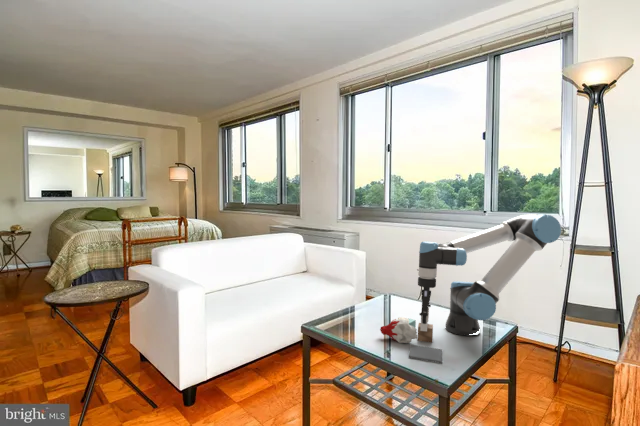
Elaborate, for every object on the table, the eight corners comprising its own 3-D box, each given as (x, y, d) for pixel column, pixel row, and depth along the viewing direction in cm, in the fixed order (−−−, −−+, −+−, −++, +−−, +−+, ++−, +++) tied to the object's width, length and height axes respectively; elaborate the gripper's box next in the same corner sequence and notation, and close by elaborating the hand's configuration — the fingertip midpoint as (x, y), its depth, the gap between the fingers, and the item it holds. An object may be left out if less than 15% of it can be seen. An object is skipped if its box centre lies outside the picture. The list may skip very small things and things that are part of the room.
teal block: (415, 328, 165) (415, 320, 164) (409, 331, 160) (409, 322, 160) (407, 326, 167) (408, 318, 167) (401, 329, 163) (401, 320, 163)
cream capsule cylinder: (409, 331, 160) (409, 318, 160) (408, 334, 155) (408, 321, 155) (398, 329, 162) (398, 316, 162) (396, 333, 157) (397, 319, 157)
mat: (442, 351, 138) (442, 349, 138) (442, 363, 127) (442, 361, 127) (411, 346, 142) (411, 344, 142) (408, 357, 131) (408, 355, 131)
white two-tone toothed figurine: (418, 345, 142) (381, 346, 144) (415, 335, 153) (380, 336, 155) (416, 323, 142) (379, 325, 144) (413, 315, 153) (379, 316, 155)
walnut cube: (432, 338, 152) (433, 324, 152) (432, 342, 147) (432, 328, 147) (418, 336, 154) (418, 322, 154) (417, 340, 149) (417, 326, 149)
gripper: (419, 272, 163) (417, 316, 164) (416, 281, 140) (413, 333, 140) (436, 273, 161) (434, 319, 161) (435, 283, 137) (432, 336, 138)
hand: (424, 326), depth 151 cm, fingers open, 13 cm apart
